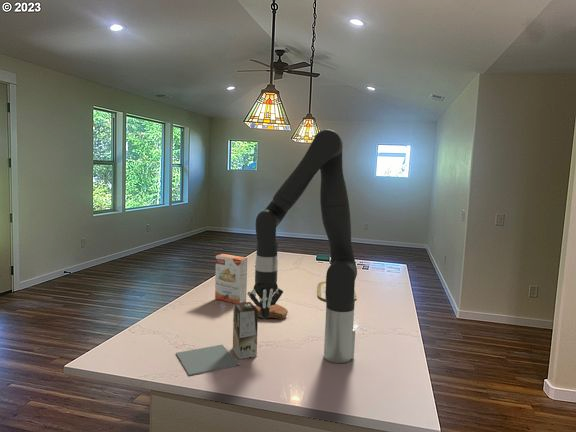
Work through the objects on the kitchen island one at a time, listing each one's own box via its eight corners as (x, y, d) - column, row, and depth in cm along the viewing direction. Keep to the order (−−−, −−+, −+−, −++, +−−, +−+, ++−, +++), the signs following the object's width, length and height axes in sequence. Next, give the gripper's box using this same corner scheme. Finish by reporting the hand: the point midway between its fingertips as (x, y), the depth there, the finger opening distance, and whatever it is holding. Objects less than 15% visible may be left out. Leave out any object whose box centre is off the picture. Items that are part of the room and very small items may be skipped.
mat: (222, 345, 147) (222, 344, 147) (239, 365, 133) (239, 364, 133) (176, 353, 139) (176, 352, 139) (189, 375, 125) (189, 374, 125)
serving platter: (317, 303, 198) (317, 299, 197) (317, 282, 232) (317, 279, 232) (357, 305, 196) (358, 302, 196) (352, 284, 231) (352, 281, 231)
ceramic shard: (269, 313, 166) (242, 309, 176) (271, 328, 167) (245, 324, 177) (292, 300, 177) (265, 297, 187) (294, 314, 178) (268, 310, 188)
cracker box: (214, 299, 196) (215, 255, 194) (222, 296, 201) (222, 253, 199) (239, 304, 190) (240, 259, 187) (246, 301, 195) (247, 257, 192)
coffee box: (257, 357, 139) (258, 310, 137) (238, 359, 137) (239, 312, 135) (249, 345, 148) (250, 301, 146) (231, 348, 145) (232, 303, 143)
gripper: (252, 272, 136) (251, 324, 138) (288, 269, 142) (286, 318, 144) (244, 267, 143) (242, 316, 145) (278, 264, 149) (277, 311, 151)
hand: (264, 317), depth 144 cm, fingers closed
